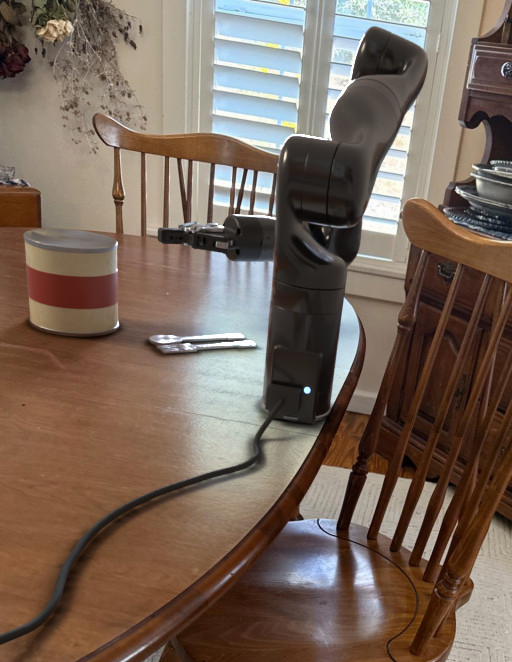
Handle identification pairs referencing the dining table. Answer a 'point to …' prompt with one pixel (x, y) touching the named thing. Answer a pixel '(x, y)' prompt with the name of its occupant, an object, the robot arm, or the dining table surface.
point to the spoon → (191, 338)
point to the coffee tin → (72, 282)
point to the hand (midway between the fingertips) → (159, 235)
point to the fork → (203, 347)
